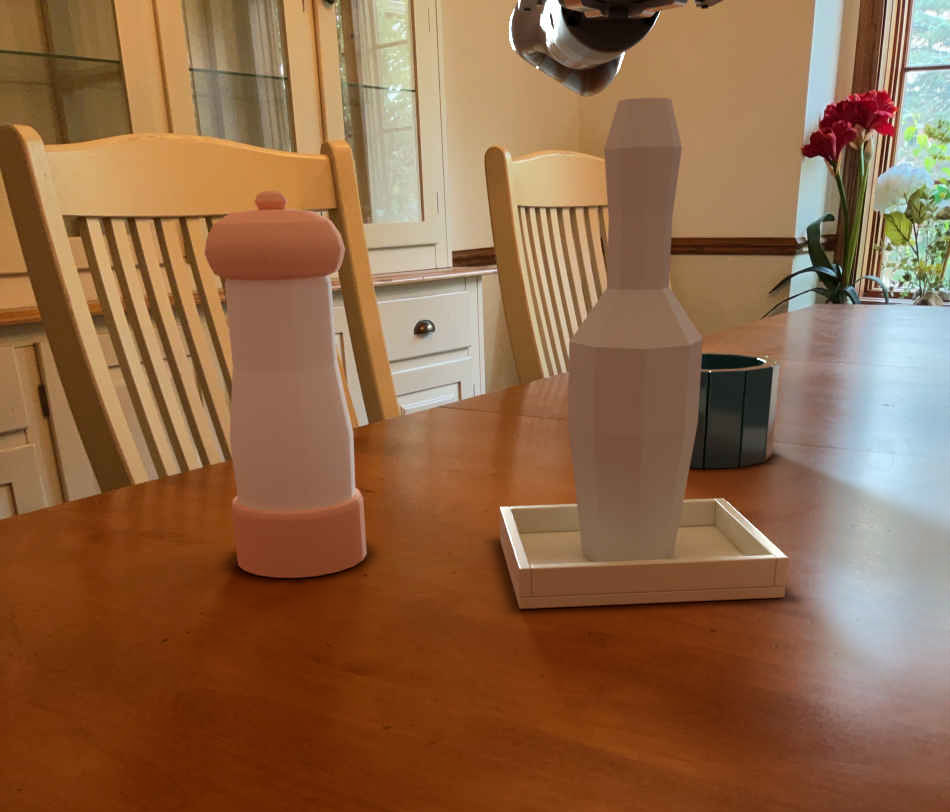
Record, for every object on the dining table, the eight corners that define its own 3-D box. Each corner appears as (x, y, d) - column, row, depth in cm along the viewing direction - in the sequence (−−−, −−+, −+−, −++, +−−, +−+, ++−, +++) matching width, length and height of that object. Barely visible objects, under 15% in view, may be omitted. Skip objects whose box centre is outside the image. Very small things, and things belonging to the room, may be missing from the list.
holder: (747, 437, 86) (754, 350, 83) (788, 465, 77) (797, 368, 74) (626, 442, 85) (629, 354, 83) (653, 471, 76) (658, 373, 73)
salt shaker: (214, 556, 60) (169, 193, 52) (322, 530, 64) (295, 191, 57) (279, 588, 54) (239, 190, 47) (392, 557, 59) (372, 188, 51)
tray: (721, 532, 62) (723, 497, 61) (784, 597, 52) (788, 557, 51) (499, 541, 61) (499, 506, 60) (519, 609, 51) (519, 568, 50)
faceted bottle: (545, 556, 56) (547, 102, 48) (617, 531, 61) (631, 108, 52) (640, 583, 52) (660, 90, 44) (711, 553, 56) (742, 97, 48)
